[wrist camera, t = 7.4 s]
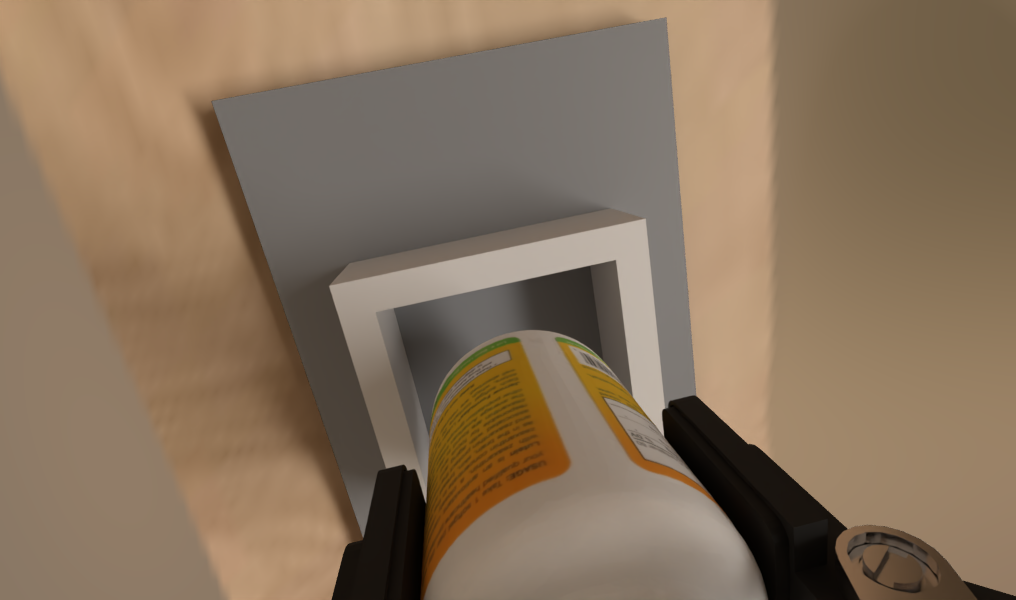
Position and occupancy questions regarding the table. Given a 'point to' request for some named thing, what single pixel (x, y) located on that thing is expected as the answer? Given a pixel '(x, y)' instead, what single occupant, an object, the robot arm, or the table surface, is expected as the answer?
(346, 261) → the cup holder
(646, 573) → the supplement bottle
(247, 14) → the table surface
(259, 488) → the table surface
